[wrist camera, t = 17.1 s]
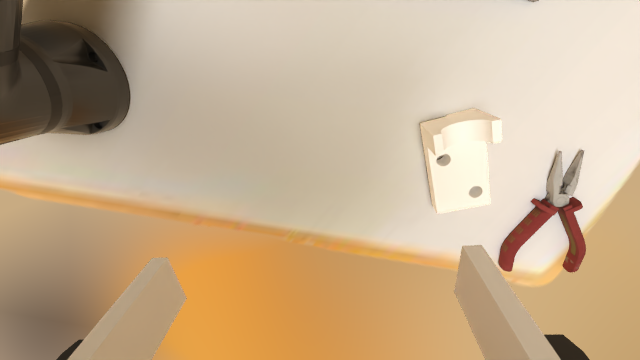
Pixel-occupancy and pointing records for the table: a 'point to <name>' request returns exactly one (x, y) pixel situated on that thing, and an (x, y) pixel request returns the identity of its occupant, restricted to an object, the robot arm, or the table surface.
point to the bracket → (459, 158)
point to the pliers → (545, 210)
